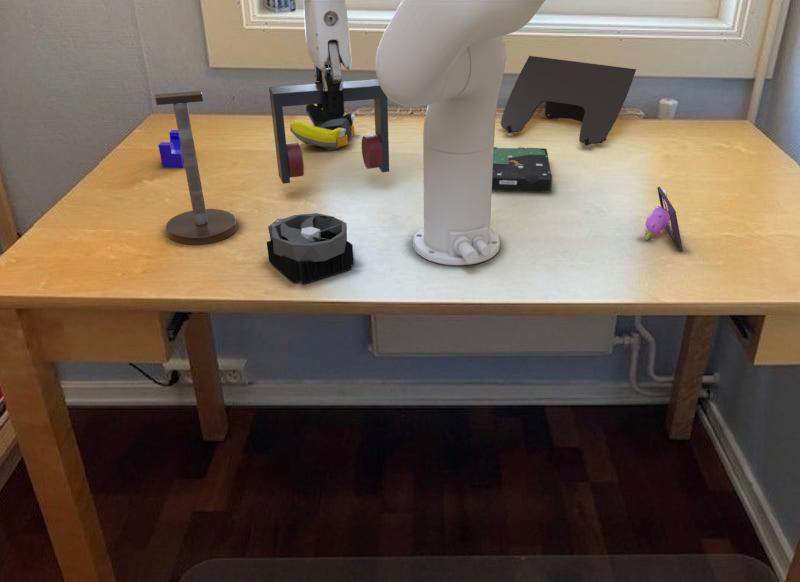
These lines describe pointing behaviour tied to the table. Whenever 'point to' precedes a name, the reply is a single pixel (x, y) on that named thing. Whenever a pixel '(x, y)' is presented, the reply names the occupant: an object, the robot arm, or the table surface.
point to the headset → (290, 153)
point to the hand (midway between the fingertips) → (330, 110)
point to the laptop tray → (569, 95)
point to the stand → (194, 185)
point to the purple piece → (663, 219)
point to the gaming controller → (324, 129)
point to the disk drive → (521, 170)
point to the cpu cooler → (309, 247)
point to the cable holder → (171, 151)
